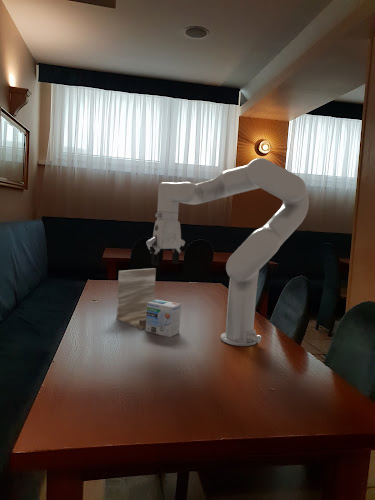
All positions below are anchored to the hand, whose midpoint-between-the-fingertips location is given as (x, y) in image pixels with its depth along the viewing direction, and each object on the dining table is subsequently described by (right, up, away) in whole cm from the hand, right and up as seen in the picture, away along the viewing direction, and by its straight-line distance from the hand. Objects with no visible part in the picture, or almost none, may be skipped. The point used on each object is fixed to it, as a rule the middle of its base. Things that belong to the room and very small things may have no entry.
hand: (165, 264), depth 140 cm
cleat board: (-8, -23, +12) cm, 27 cm away
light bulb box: (-1, -25, -2) cm, 25 cm away
